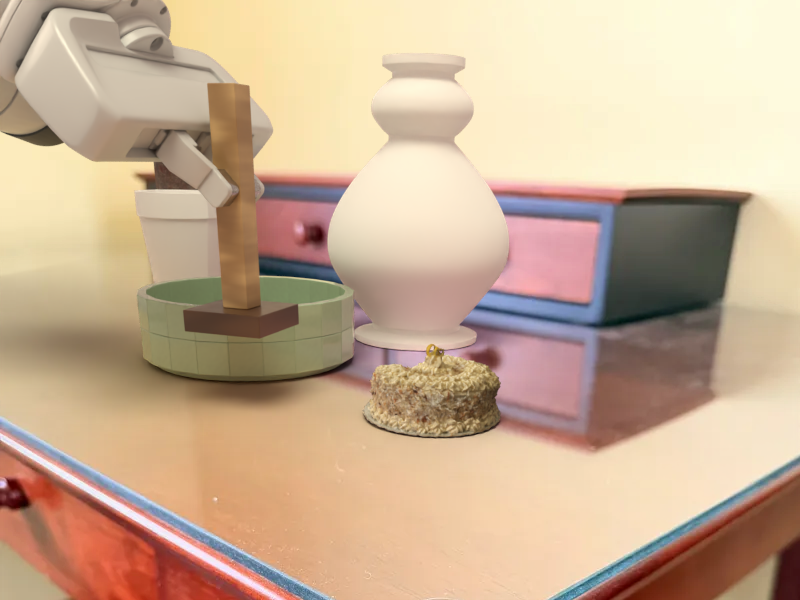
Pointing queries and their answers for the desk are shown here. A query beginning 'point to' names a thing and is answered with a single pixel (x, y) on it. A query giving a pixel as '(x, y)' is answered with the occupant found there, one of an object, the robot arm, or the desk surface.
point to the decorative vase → (419, 215)
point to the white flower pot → (179, 233)
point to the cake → (434, 397)
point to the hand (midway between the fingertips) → (242, 199)
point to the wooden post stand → (237, 230)
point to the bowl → (240, 356)
